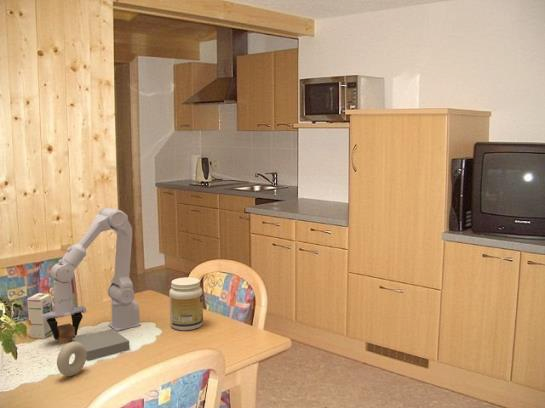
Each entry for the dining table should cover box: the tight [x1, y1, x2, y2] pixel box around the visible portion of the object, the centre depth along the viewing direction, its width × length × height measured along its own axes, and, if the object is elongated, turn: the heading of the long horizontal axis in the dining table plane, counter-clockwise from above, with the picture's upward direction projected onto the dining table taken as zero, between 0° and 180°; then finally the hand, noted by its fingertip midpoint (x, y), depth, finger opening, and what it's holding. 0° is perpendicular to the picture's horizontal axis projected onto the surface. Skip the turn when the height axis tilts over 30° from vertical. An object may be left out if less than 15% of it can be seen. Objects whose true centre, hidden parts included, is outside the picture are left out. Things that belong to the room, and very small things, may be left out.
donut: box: [56, 342, 87, 377], centre depth 163 cm, size 10×4×10 cm, turn 152°
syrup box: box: [26, 292, 53, 340], centre depth 194 cm, size 6×6×14 cm
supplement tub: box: [168, 276, 204, 331], centre depth 203 cm, size 12×12×17 cm
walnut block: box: [55, 322, 76, 346], centre depth 190 cm, size 5×5×5 cm
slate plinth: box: [72, 328, 131, 362], centre depth 183 cm, size 14×14×3 cm
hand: (65, 336), depth 190 cm, fingers open, 6 cm apart
